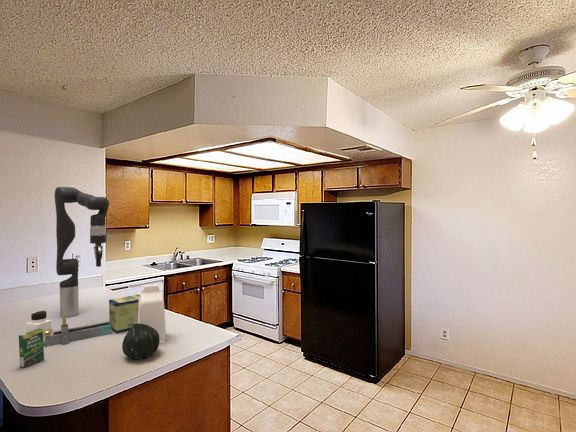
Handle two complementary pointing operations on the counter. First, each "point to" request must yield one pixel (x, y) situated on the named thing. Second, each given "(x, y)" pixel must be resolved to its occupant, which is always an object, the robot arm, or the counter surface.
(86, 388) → the counter surface
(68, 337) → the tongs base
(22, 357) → the coffee box
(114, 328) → the protein box
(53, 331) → the tong arm
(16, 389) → the counter surface
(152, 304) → the milk
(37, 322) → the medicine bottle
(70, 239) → the robot arm
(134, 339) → the squash
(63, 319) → the lock pin
